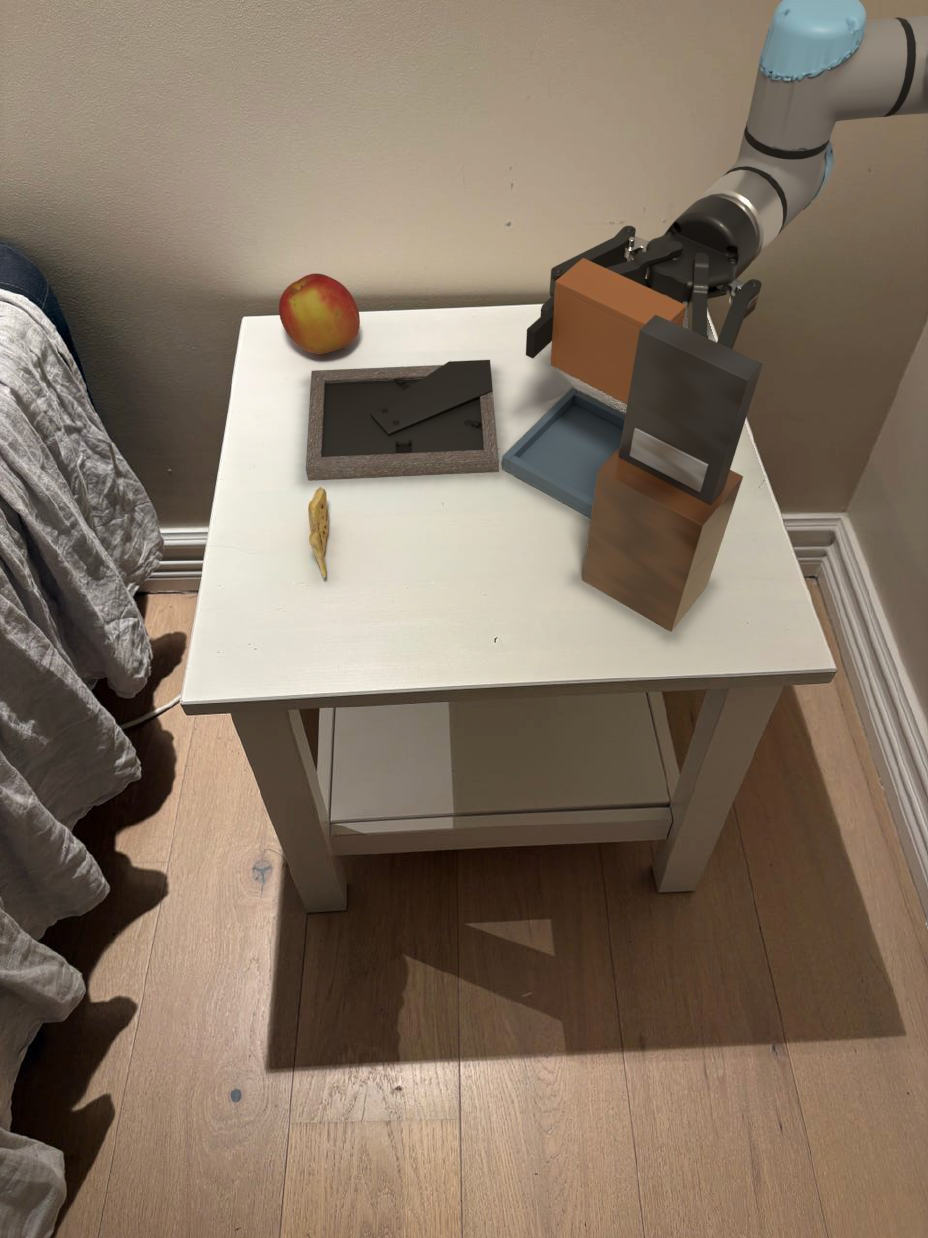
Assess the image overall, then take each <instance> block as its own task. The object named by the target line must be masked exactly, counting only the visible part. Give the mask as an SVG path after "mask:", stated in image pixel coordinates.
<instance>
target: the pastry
mask: <svg viewBox="0 0 928 1238" xmlns="http://www.w3.org/2000/svg"><path fill="white" fill-rule="evenodd" d="M327 501H328V498H327V491H326V489H325V488H323V487H322V486H320V487H318V488H317V489H316V490H315V492H314V493H313V497H312V499H311V500H310V501H309V503H308V505H307V506H308V507H307V511H308V512H307V513H308V516H307V517H308V524H309V531H310V534H309V536H308V538H309V539H308V542H309V546H311V549H312V552H313V554H314V556H315V558H316V560H317V562H318V565H319V569H320V573H321V575H322V577H323V578H324V579H326V576H327V565H326V562H325V556H324V554H325V552H326V547H327V545H326V544H327V543H326V542H327V536H328V534H329V512H328V504H327Z"/></svg>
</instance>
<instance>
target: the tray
mask: <svg viewBox="0 0 928 1238" xmlns="http://www.w3.org/2000/svg"><path fill="white" fill-rule="evenodd" d="M625 415H626V412H623V411H621V410H619V409H617V408H615V407H613V406H612V405H609V404H607V403H605V402H603V401H601V400H599V399H597V398H595V397H593V396H591V395H589V394H587V393H585V392H583V391H582V390H579V389H577V388H575V387H570V388H569V389H568V391H566V392H565V394H564V395H563V396H562V397H560V399H558V401H556V402H555V403H554V405H552V406H551V407H550V408H549V410H548V411H546V412H545V413H544V414H543V415H542V416H541V417H540V419H538V420H537V421H536V422H535V423H534V424H533V425H532V426H531V427H530V428H529V429H528V430H527V431H526V432H525V433H524V434H523V435H522V436H521V437H520V438H519V439H518V440H517V441H516V442H515V443H514V444H513V445H512V446H510V448H509V449H508V450H507V451H506V452H505V453H504V454H503V455H502V456H501V457H502V458H501V470H502V471H505V472H506V473H508V474H509V475H512V476H513V477H515V478H517V479H519V480H521V481H522V482H524V483H526V484H528V485H530V486H531V487H533V488H535V489H537V490H539V491H541V492H542V493H544V494H545V495H548V496H549V497H551V498H553V499H555V500H557V501H558V502H560V503H562V504H564V505H566V506H567V507H570V508H571V509H573V510H574V511H577V512H578V513H580V514H582V515H584V516H586V517H587V518H589V519H591V515H592V508H593V501H594V495H595V488H596V481H597V474H598V470H599V468H600V467H601V466H602V465H603V464H604V463H605V462H606V461H607V460H608V459H609V458H610V457H611V456H612V454H613V453H614V452H615V451H616V450H617V449H618V448H619V447H620V444H621V438H622V433H623V427H624V421H625Z"/></svg>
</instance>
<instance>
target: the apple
mask: <svg viewBox="0 0 928 1238" xmlns="http://www.w3.org/2000/svg"><path fill="white" fill-rule="evenodd" d="M278 315H279V319H280V322H281V325H282V326H283V328H284V330H285V332H286V334H287V335H288V337H289V338H290V339H291V340H292V341H293V342H294V344H296V346H297V347H299V348H301V349H302V350H303V351H306V352H308V353H311V354H317V355H325V354H329V353H332V352H334V351H338V350H341V349H344V348H345V347H347V346H349V345H350V344H351V343H353V341H354V340H355V339H356V338H357V336H358V334H359V331H360V326H361V325H360V324H361V319H360V311H359V308H358V305H357V302H356V301H355V299H354V297H353V295H352V294H351V292H350V291H349V290H348V288H347V287H346V286H345V285H344V284H343V283H342V282H340V281H338V280H337V279H335V278H333V277H331V276H329V275H326V274H323V273H310V274H306V275H305V276H303V277H301V278H299V279H297V280H296V281H293V282H292V283H290V284H289V285H288V286H287V287H286V289H284V290H283V292H282V293H281V295H280V299H279V303H278Z"/></svg>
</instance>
